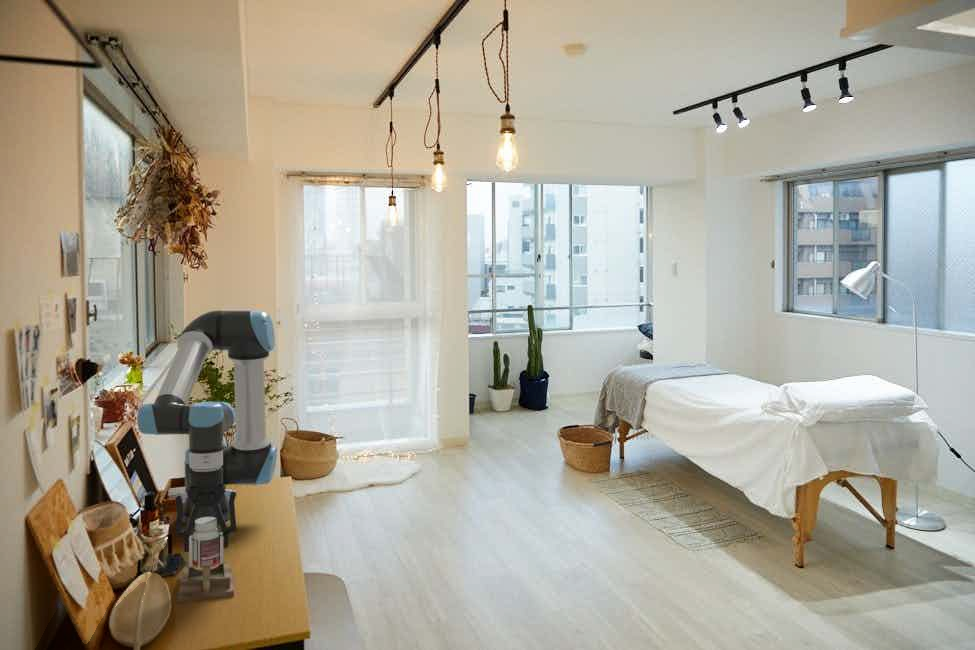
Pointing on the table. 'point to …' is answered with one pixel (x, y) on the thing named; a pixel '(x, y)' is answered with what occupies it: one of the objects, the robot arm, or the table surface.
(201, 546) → the pill bottle
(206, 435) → the robot arm
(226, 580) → the holder
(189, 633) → the table surface
